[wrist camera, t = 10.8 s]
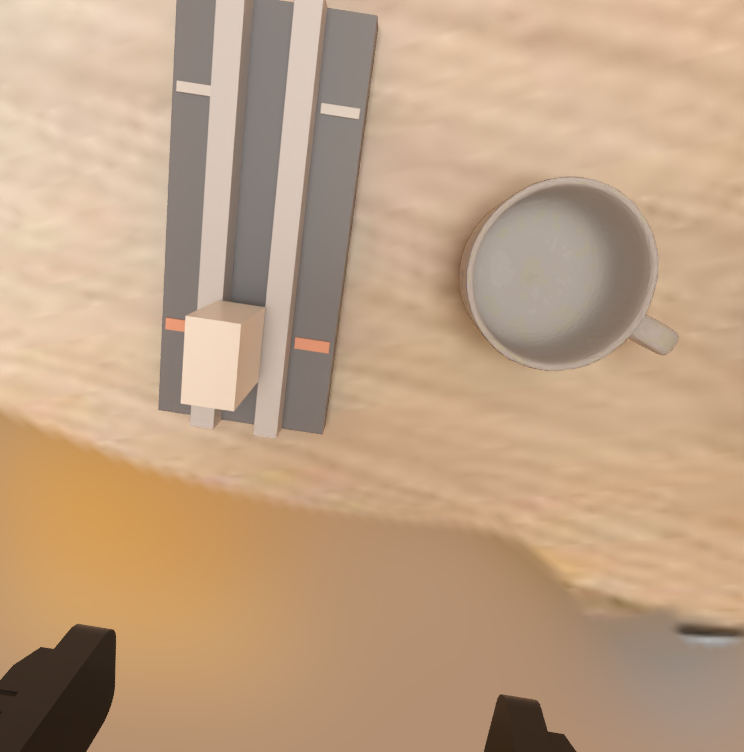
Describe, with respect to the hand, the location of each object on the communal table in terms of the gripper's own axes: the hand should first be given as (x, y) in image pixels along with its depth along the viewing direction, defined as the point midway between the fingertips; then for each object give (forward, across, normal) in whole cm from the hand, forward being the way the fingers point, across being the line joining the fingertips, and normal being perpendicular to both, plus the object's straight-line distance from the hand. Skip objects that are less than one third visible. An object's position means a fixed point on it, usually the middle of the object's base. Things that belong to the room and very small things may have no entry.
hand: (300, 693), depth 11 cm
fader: (+28, +9, -1) cm, 29 cm away
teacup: (+31, -11, -7) cm, 34 cm away
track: (+30, +9, -8) cm, 32 cm away
